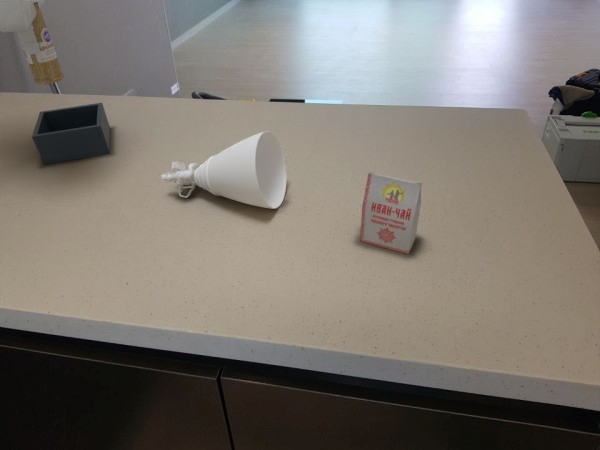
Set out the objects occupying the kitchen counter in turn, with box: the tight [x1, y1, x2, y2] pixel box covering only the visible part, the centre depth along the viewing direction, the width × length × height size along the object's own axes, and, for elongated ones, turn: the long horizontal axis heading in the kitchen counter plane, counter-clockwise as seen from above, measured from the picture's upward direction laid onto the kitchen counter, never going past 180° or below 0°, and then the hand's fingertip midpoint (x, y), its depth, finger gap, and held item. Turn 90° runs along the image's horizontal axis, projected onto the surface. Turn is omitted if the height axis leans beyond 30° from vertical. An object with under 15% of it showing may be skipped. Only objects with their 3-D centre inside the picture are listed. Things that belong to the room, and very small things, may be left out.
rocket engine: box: [160, 130, 288, 210], centre depth 71 cm, size 12×12×18 cm
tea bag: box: [359, 171, 422, 255], centre depth 60 cm, size 4×7×10 cm, turn 64°
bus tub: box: [31, 102, 111, 165], centre depth 87 cm, size 12×12×6 cm
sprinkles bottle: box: [15, 0, 65, 85], centre depth 70 cm, size 5×5×14 cm
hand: (37, 48), depth 71 cm, fingers closed on sprinkles bottle, 4 cm apart
